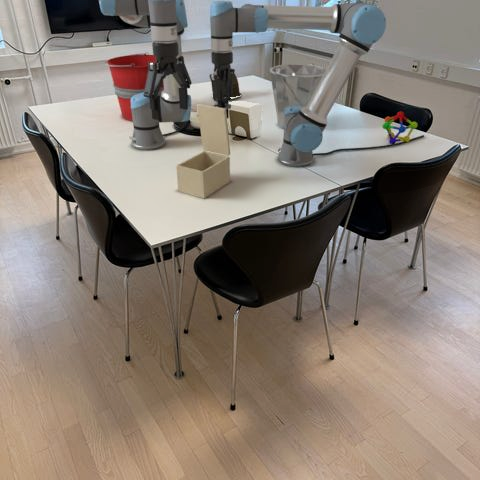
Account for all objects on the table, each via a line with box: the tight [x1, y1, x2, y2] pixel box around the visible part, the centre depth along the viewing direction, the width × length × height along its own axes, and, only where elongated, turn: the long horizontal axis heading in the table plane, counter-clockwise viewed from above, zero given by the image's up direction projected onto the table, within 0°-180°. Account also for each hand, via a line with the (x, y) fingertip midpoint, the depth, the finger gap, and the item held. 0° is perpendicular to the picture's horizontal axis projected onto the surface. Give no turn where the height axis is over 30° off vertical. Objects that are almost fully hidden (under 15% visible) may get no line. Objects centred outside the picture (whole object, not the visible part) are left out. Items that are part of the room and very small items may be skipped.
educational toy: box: [382, 110, 418, 145], centre depth 207 cm, size 16×13×15 cm
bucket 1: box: [103, 52, 164, 122], centre depth 240 cm, size 35×35×30 cm
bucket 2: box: [269, 63, 327, 129], centre depth 226 cm, size 30×30×28 cm
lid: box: [196, 101, 232, 157], centre depth 166 cm, size 18×12×9 cm
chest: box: [175, 150, 231, 199], centre depth 166 cm, size 17×12×10 cm
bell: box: [229, 72, 242, 97], centre depth 278 cm, size 19×26×20 cm
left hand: (170, 114), depth 140 cm, fingers open, 13 cm apart
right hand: (223, 118), depth 166 cm, fingers closed on lid, 1 cm apart
